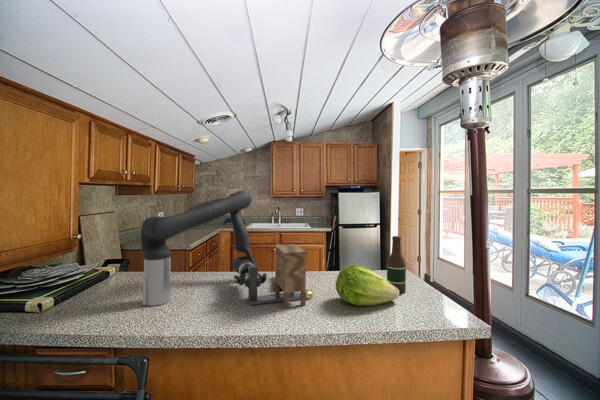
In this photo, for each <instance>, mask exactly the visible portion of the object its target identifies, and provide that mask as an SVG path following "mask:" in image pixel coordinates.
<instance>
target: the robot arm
mask: <svg viewBox="0 0 600 400" xmlns="http://www.w3.org/2000/svg"><path fill="white" fill-rule="evenodd" d="M251 203H252V196H251V194H250V193H249V192H247V191H245V190H240V191H236V192H232V193H231V194H229V195H228V196H226V197H223V198H221V197H220V198H216V199H211V200H207V201H204V202H200V203H197V204H194V205H193V206H191V207H189V208H188V209H186V210H185V211H183V212H181V213H177V214H173V215H167V216H153V215H152V216H150V217H147V218H146V219H145V220H144V221H143V222H142V224H141V228H140V241H141V243H140V244H141V251H142V253H143V279H142V284H141V285H142V286H141V288H142V290H141V291H142V296H141V297H142V306H148V307H152V306H153V307H154V306H161V305H164V304H168V303H169V302H170V301H171V292H172V291H171V285H172V284H171V281H172V280H171V279H172V278H171V270H172V269H171V268H172V267H171V265H172V264H171V249H170V248H169V247H168V245H167V240H169V239H171V238H173V237H175V236H177V235H178V234H181V233H183V232H185V231H187V230H191V229H193V228H197V227H200V226H202V225H205V224H208V223H210V222H213V221H215V220H217V219H220V218H221V217H224V216H225V215H227V214H229V216H230V220H231V224H232V228H233V235H234V237H233V238H234V248H235V252H237V253H238V252H239V253H244V254H246V255H244V256H238V257H235V258H234V259H233V261H232V267H233V271H234V272H236V273H237V274H238V275H236V274H235V275H234V276H233V283H235V284H237V285H239V286H245V287H246V288H250V281H249V279H248V266H252V265H256V262H255V258H254V256H253V254H252V251H251V247H250V237H249V232H248V230H247V227H246V225H245V223H244V221H243V218H242V210H245V209H247V208H249V206H250V205H251ZM266 281H267V273H266V272H264V273H262V274H261V273H260V272H259V271H258V270H257V288H260V286H262V284H264V283H265V282H266Z"/></svg>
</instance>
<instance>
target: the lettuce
mask: <svg viewBox="0 0 600 400" xmlns="http://www.w3.org/2000/svg"><path fill="white" fill-rule="evenodd" d="M335 290H336V292H337V294H338V296H339V298H340V299H341V301H344V302H346V303H348V304H351V305H356V306H360V307H361V306H363V307H364V306H377V305H381V304H385V303H389V302H391V301H394V300H397V299H398V298H399V296H400V294H399V290H398V289H397V288H396V287H395V286H393V285H392V284H391V283H389V282H388V281H387V278H385V277H383V276H381V275H379V274H378V273H375V272H374V271H373V270H371V269H369V268H366V267H363V266H361V265H357V264H351V265H348V266H345V267H343V268H342V269H341V270H340V271H339V273H338V274H337V277H336V280H335Z"/></svg>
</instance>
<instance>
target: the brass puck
mask: <svg viewBox="0 0 600 400" xmlns="http://www.w3.org/2000/svg"><path fill="white" fill-rule="evenodd" d="M313 296H314V291H313V289H307V288H306V300H307V301H308V300H309V301H310V300H312V299H313V298H314V297H313Z"/></svg>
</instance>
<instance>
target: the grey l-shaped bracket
mask: <svg viewBox="0 0 600 400" xmlns="http://www.w3.org/2000/svg"><path fill="white" fill-rule="evenodd" d="M257 271H258V266H257V265H256V264H255V265H252V266H248V279H249V281H250V288H248V287H247V288H248V290H247V292H248V294H247V301H248V304H249V306H254V305H262V304H270V303H279V302H284V293H283V294H282V293H280V294H279V295H276V294H275V295H274V294H273V295H265V296H264V295H263V296H262V295H261V296H258V287H257ZM296 300H301V292H295V293H289V301H296Z"/></svg>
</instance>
